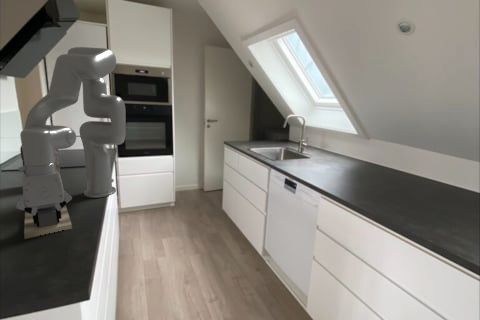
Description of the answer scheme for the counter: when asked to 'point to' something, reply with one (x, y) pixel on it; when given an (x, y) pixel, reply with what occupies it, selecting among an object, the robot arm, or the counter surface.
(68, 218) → the birch board
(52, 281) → the counter surface
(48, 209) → the sanding sponge
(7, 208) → the counter surface
